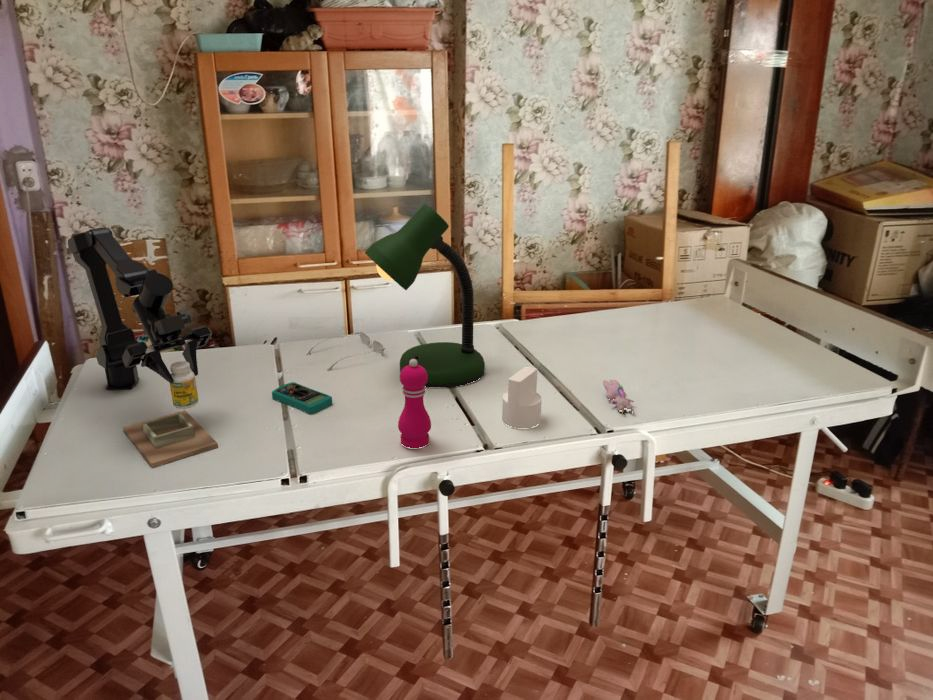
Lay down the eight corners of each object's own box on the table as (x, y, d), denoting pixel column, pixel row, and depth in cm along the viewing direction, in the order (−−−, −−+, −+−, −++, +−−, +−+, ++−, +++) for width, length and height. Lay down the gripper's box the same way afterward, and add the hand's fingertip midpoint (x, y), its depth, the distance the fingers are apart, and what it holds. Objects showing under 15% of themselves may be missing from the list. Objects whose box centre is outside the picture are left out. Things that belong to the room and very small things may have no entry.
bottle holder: (123, 431, 170) (120, 417, 169) (185, 413, 178) (183, 400, 177) (152, 467, 156) (149, 452, 154) (218, 447, 164) (216, 432, 162)
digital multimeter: (293, 389, 192) (292, 379, 191) (334, 405, 184) (333, 394, 183) (270, 400, 187) (269, 389, 186) (311, 416, 178) (310, 405, 177)
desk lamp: (381, 398, 187) (375, 218, 170) (361, 364, 207) (353, 199, 190) (496, 381, 197) (501, 209, 180) (466, 350, 217) (468, 193, 200)
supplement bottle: (199, 397, 171) (193, 358, 167) (198, 408, 166) (192, 368, 163) (174, 400, 170) (168, 361, 166) (172, 410, 165) (165, 370, 161)
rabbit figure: (639, 420, 181) (617, 385, 193) (643, 399, 178) (621, 365, 190) (614, 421, 180) (594, 386, 192) (617, 401, 176) (597, 366, 189)
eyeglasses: (386, 359, 212) (385, 345, 210) (327, 373, 202) (326, 359, 200) (360, 342, 223) (359, 329, 222) (303, 355, 213) (302, 342, 212)
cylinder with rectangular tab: (529, 433, 171) (531, 385, 166) (495, 423, 175) (496, 376, 171) (547, 418, 178) (549, 371, 174) (513, 408, 182) (515, 363, 178)
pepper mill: (398, 435, 169) (396, 353, 162) (430, 434, 170) (429, 352, 162) (398, 451, 163) (396, 366, 155) (432, 450, 163) (431, 365, 156)
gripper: (119, 310, 155) (151, 375, 152) (203, 290, 168) (234, 350, 165) (109, 335, 163) (139, 397, 160) (190, 315, 176) (219, 372, 173)
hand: (184, 378), depth 165 cm, fingers closed on supplement bottle, 5 cm apart
